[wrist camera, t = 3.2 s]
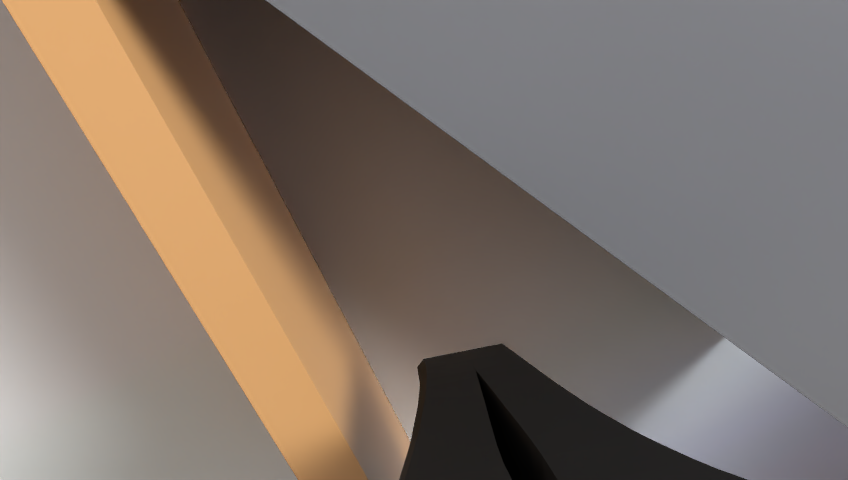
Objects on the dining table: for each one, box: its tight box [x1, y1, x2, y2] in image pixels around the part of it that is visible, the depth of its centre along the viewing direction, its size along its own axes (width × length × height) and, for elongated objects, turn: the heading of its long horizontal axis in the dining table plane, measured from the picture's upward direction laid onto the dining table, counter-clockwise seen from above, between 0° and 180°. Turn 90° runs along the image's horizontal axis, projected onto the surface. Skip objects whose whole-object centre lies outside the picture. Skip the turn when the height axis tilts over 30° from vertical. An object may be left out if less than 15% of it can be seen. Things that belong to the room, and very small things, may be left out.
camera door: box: [2, 0, 410, 480], centre depth 11 cm, size 11×1×4 cm, turn 23°
